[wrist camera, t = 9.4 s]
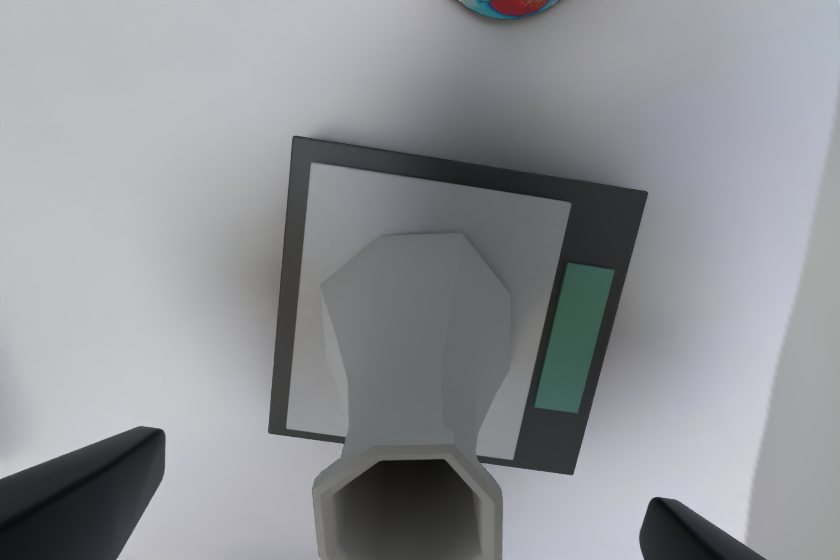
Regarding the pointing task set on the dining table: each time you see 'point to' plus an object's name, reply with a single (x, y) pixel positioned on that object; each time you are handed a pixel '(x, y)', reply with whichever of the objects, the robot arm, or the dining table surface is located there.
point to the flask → (413, 401)
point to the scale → (501, 250)
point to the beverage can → (508, 7)
